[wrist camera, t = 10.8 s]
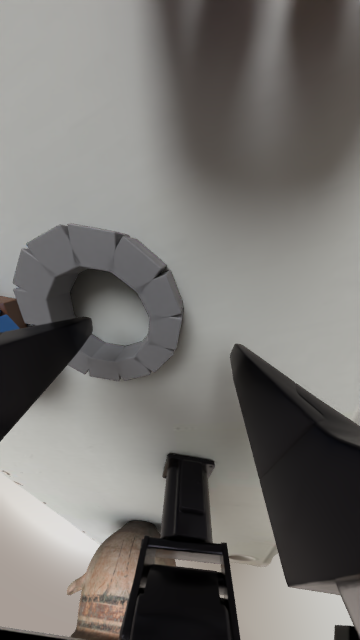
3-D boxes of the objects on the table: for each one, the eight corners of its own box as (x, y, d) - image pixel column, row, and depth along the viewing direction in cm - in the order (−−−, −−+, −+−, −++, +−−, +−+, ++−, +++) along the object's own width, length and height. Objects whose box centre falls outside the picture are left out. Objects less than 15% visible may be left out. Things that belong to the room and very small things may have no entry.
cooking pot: (102, 529, 41) (69, 633, 30) (82, 506, 33) (26, 636, 22) (191, 540, 39) (192, 653, 28) (194, 518, 31) (196, 665, 20)
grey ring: (171, 371, 13) (168, 390, 12) (59, 351, 13) (39, 367, 11) (194, 247, 9) (196, 246, 7) (26, 216, 9) (-17, 207, 7)
